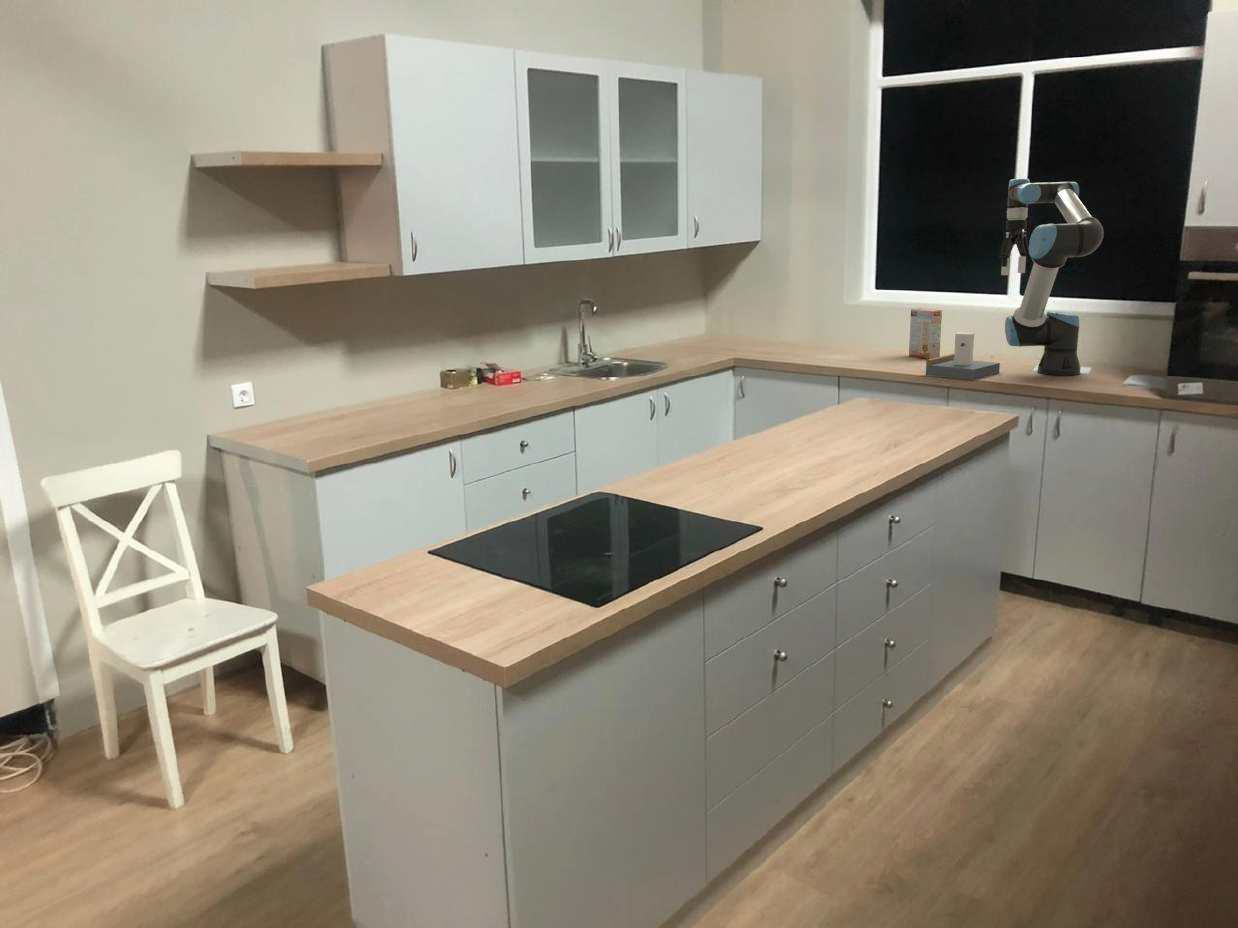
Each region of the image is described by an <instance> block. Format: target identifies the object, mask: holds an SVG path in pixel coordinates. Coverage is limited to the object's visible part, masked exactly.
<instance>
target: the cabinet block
mask: <svg viewBox="0 0 1238 928" xmlns="http://www.w3.org/2000/svg"><path fill="white" fill-rule="evenodd" d="M954 336H955V338H954V353H953V354H954V365H971V364H972V363H973V360H974V359H973V358H974V341H975V332H971V331H970V332H968V331H967V332H966V331H965V332H964V331H958V332H956V333H955V335H954Z"/></svg>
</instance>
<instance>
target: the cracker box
mask: <svg viewBox="0 0 1238 928" xmlns="http://www.w3.org/2000/svg"><path fill="white" fill-rule="evenodd" d="M942 315H943V311H942V310H940V309H934V308H923V307H922V308H921V307H918V308H917V307H916V308H911V309H910V320H909V321H910V324H909V346H908V347H909V348H908V357H909V356H910V357H914V358H920V359H925V360H927V359H932V358H936V357H941V356H940V355H941V354H940V351H941V335H942V333H941V332H942V320H943V319H942Z"/></svg>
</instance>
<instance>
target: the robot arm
mask: <svg viewBox="0 0 1238 928" xmlns="http://www.w3.org/2000/svg"><path fill="white" fill-rule="evenodd" d="M1079 186H1080V185H1079V184H1078V183H1077V182H1076V181H1059V182H1058V181H1057V182H1054V181H1053V182H1030V179H1029V178H1013V179H1010V180H1009V182H1008V188H1007V190H1008V196H1007V210H1006V221H1005V222H1006V224H1005V229H1006V230H1008V231H1007V232H1004V235H1003V236H1004V237H1003V241H1002V244H1001V247H1000V250H999V254H998V256H999V258H1000V259H1001V268H1000V270H1001V271H1000V272H1001V273H1000V275H1001V276H1009V273H1010V272H1009V271H1010V255H1011V253H1012V251H1013V248H1014V246H1015V245H1016V247H1017V251H1018V253H1019V256H1018V261H1017V263H1018V265H1017V274H1026V264H1027V263H1026V262H1027V257H1029V256H1030V258H1031V260H1032V262H1033V265H1032V268H1031V271H1030V274H1029V277H1028V280H1027V284H1026V288H1025V290H1024V293H1023V297H1022V300H1021V303H1020V307H1018V308H1016V309H1015V310H1014V312H1013V315H1009V316H1007V317H1006V318H1005V320H1004V321H1005V322H1004V332H1005V333H1004V334H1005V339H1006V342H1007V344H1008V345H1009V346H1011V347H1019V348H1021V347H1044V348H1043V354H1042V356H1041V358H1040V361H1039V362H1038V365H1037V373H1039V374H1042V375H1049V376H1050V375H1051V376H1075V375H1079V374H1081V364H1080V361H1079V357H1078V343H1079V331H1080V317H1079V315H1077V314H1074V313H1070V312H1061V311H1049V310H1048V311H1047V312H1046V313H1045V310H1046V307H1047V304H1048V301H1049V299H1050V296H1051V295H1050V294H1051V292H1052V289H1053V286H1054V283H1055V281H1056V277H1057V274H1058V273H1059V269H1060V268H1061V267H1063V266H1064V265H1065V264H1066V262H1067V259H1068V258H1081V257H1086V256H1088V255H1090V254H1092V253H1093V252H1095V251H1096V250H1097V249H1099V247H1100V245H1101V244H1102V242H1103V239H1104V234H1105V231H1104V227H1103V225H1102V223H1101V222H1100V221H1099V219H1097V218H1096V217H1093V216H1092V215H1091V214H1090V212H1089V211H1088V209H1087V207H1086V206H1085V205H1084V204H1083V202H1082V201H1081V200H1080V198H1079V194H1080V187H1079ZM1031 204H1055V205H1056V207H1057V208H1058V209H1057V210H1059V212H1060V213H1061V214H1062V216H1063V218H1064V220H1065V222H1067V223H1057V224H1055V223H1047V224H1040V225H1038V226H1036V227H1035V228H1034V230H1033V231H1032V233H1031V234H1030V235H1031V236H1030V238H1029V242H1028V232H1027V231H1026V229H1027V224H1028V220H1027V218H1028V214H1029V213H1028V211H1029V205H1031Z"/></svg>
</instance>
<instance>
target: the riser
mask: <svg viewBox="0 0 1238 928" xmlns="http://www.w3.org/2000/svg"><path fill="white" fill-rule="evenodd" d="M925 360H926V362H925V363H926V364H925V367H926V368H925V375H926V376H933V377H941V378H942V377H943V378H950V379H959V380H961V379H962V380H967V381H968V380H970V381H974V380H978V379H979V380H980V379H982V378H987V377H990V376H993V375H997V374H999V373H1000V366H1001V363H1000V362H995V361H982V360H974V359H973V363H972V364H971V365H954V353H950V354H945V355H942V356H940V357H936V358H932V359H925Z"/></svg>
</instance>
